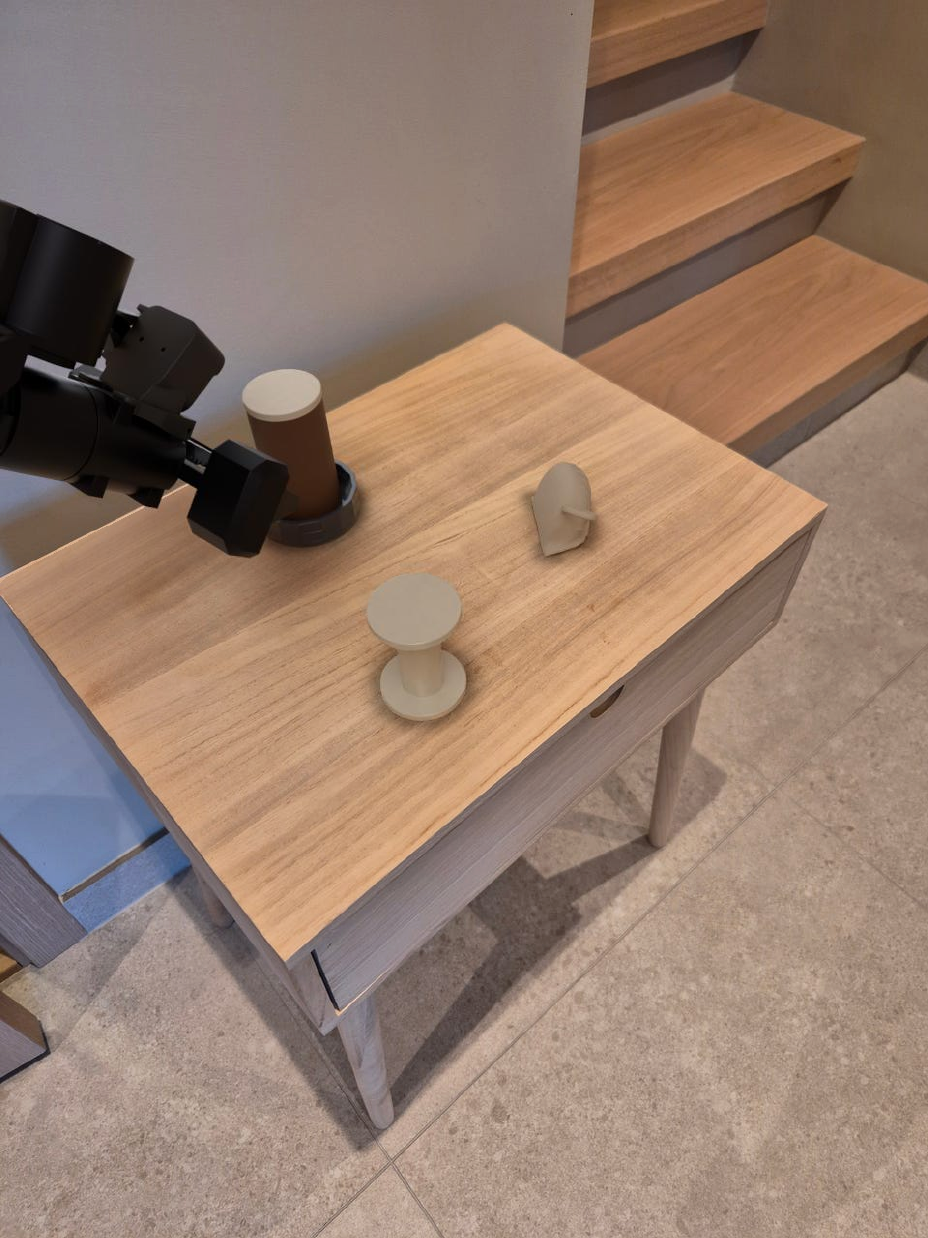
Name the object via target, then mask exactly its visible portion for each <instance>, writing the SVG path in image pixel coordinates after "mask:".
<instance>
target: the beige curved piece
mask: <svg viewBox="0 0 928 1238" xmlns="http://www.w3.org/2000/svg"><path fill="white" fill-rule="evenodd" d="M530 500H531V505H532V509H533V513H534V517H535V521H536V522H535V523H536V525H537V529H538V536H539V541H540V546H541V550H542V553H543V556H544V557H545V558H547V557H549V556H550V557H551V556H553V555H556V554H559V553H562V552H566V551H568V550H572V549H575V548H577V547H579V545H581V544H582V543H584V542H585V539H586V537H587V536H588V535H589V529H590V527H591V524H590V523H591V522H596V521H597V520H598V517H599V516H598V514H597V513H596V512H593V511H591V506H592V488H591V485H590V482H589V479H588V476H587V475H586V473H584V471H583V469H581V467H579V466H578V465H577V464H576V463H571V462H568V461H561V462H557V463H555V464H554V465H552V466H551V467H550V468H549V469H548V470H547V471H546V472H545V474H544V475H543V477H542V478H541V480H540V482H539V483H538V485H537V488H536V490H535V493H534V495H532V496H531V499H530Z"/></svg>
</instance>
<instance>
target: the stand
mask: <svg viewBox="0 0 928 1238" xmlns="http://www.w3.org/2000/svg"><path fill="white" fill-rule="evenodd" d="M365 617H366V622H367V625H368V628H369V630H370V632H371V633H372V635H373V636H374V637H375V638H376V639H377V640H378V641H379V642H381V643H382V644H384V645H386V646H388V647H390V648H393V649H396V652H397V654H396V655H395V656H394V657H392V658H391V659H390V660H389V661H388V662H387V664H386V665H385V666H384V668H383V669H382V672H381V675H380V678H379V690H380V695H381V698H382V700H383V703H384V704H385V705H386V707H387V708H388V709H389V710H390V711H391V712H393V713H394V714H395V715H397V716H398V717H401V718H403V719H405V720H409V721H414V722H429V721H433V720H437V719H440V718H442V717H443V718H444V717H445V716H447V715H448V714H450V713H451V712H453V711H454V710H456V708H457V707H458V706H459V705H460V704H461V702H462V700H463V699H464V697H465V694H466V691H467V674H466V670H465V668H464V666H463V664H462V663H461V661H460V660H459V659H458V658H457V657H456V656H455V655H453V654H452V653H451V652H449V651H447V650H445V649H442V643H443V642H445V641H447V640H448V639H449V638H451V636H452V635H454V633H455V632H456V631H457V629H458V628H459V626H460V624H461V621H462V618H463V601H462V598H461V595H460V593H459V592H458V590H457V589H456V587H455V586H454V585H453V584H451V583H450V582H449V581H447V580H446V579H445V578H442V577H440V576H438V575H435V574H432V573H428V572H427V573H426V572H408V573H403V574H399V575H396V576H393V577H391V578H389V579H387V580H385V581H384V582H382V583H381V584H380V585H378V586H377V587H376V588H375V589H374V591H373V592H372V593H371V594H370V596H369V598H368V600H367V603H366V607H365Z"/></svg>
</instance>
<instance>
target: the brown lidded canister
mask: <svg viewBox="0 0 928 1238" xmlns="http://www.w3.org/2000/svg"><path fill="white" fill-rule="evenodd" d="M323 398H324V397H323V390H322V385H321V382H320V381H319V379H318V378H317V377H316V376H315V375H313V374H312V373H310V372H307V371H305V370H300V369H294V368H283V369H276V370H272V371H268V372H264V373H262V374H260V375H259V376H257V377H255V378H253V379H252V380H251V381H249V382H248V383H247V384H246V386H245V387H244V388H243V389H242V393H241V402H242V405H243V408H244V410H245V412H246V416H247V420H248V425H249V427H250V431H251V435H252V438H253V442H254V445H255V449H257V450H259V451H261V452H263V453H265V454H267V455H269V456H271V457H272V458H274V459H276V460H278V461H280V462H282V463H284V464H286V465H287V467H288V471H289V475H290V479H289V482H288V484H287V487H286V489H287V490H289V491H291V492H292V493H294V494H296V495H297V496H299V497H300V501H299V504H298V506H297V509H296V510H295V512H293V513H291V514H289V515H287V516H286V517H284V518H282V519H281V520H290V521H304V520H310V519H316V518H320V517H322V516H324V515H326V514H328V513H330V512H332V511H335V510H336V509H337V508H338V507H339V506H340V505H341V504H342V497H341V491H340V486H339V481H338V476H337V471H336V466H335V460H336V459H335V456H334V450H333V445H332V440H331V434H330V430H329V424H328V420H327V415H326V409H325V404H324V399H323ZM334 459H335V460H334Z"/></svg>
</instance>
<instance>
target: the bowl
mask: <svg viewBox="0 0 928 1238" xmlns="http://www.w3.org/2000/svg"><path fill="white" fill-rule="evenodd" d="M334 460H335V466H336V471H337V476H338V481H339V486H340V491H341V497H342V504H341V505H340V506H339V507H338V508H337V509H336V510H335V511H332V512H330V513H328V514H326V515H324V516H322V517H320V518H316V519H310V520H304V521H290V520H281V519H280V520H278V521H276V522H275V523H273V524H271V526H270V529H269V531H268V534H267V536H266V537H268V538H269V539H270V540H272V541H274V542H276V543H278V544H280V545H283V546H287V547H291V548H310V547H318V546H321V545H325V544H329V543H330V542H333V541H336V540H338V538H340V537H342V536H344V535H345V534H346V533H347V532H348V531H350V530H351V529H352V528H353V526H354V525H355V524H356V522H357V521H358V518H359V515H360V512H361V501H360V495H359V490H358V484H357V480H356V474H355V473H354V471H353V470H352V469H351V468H350V467H349V466H347V464H345V462H342V461H340V460H338V459H335V458H334Z"/></svg>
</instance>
